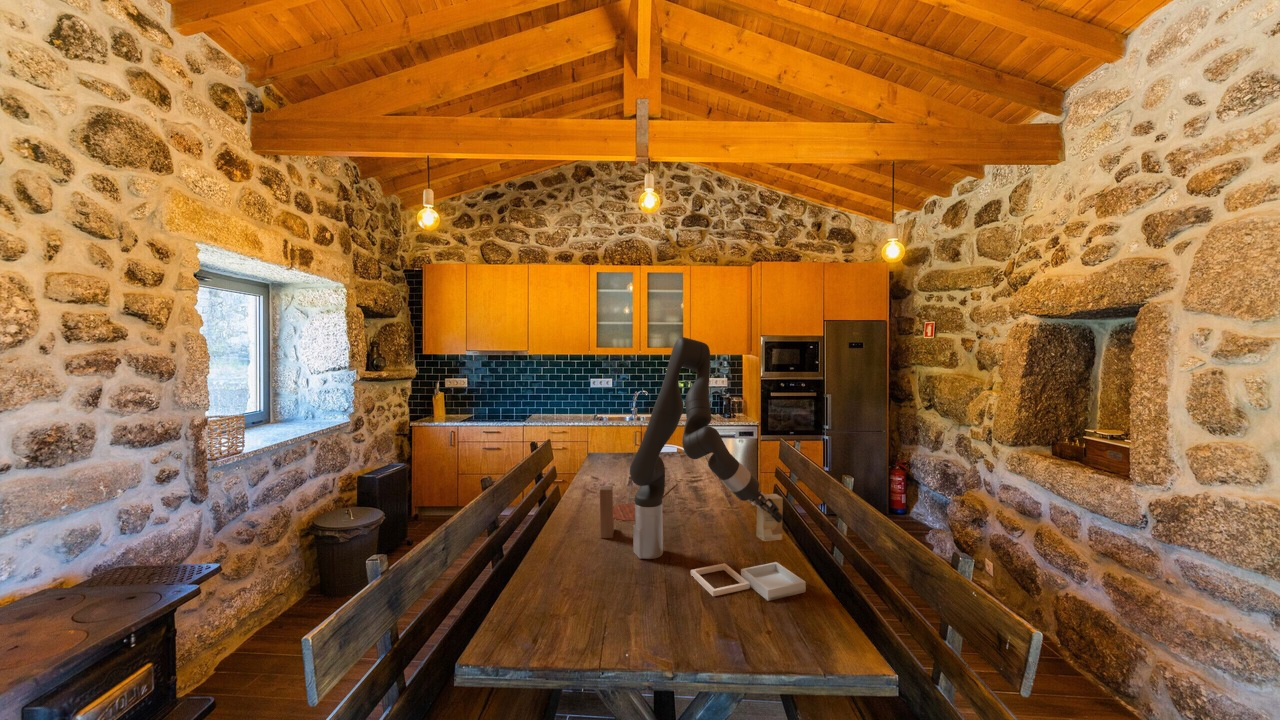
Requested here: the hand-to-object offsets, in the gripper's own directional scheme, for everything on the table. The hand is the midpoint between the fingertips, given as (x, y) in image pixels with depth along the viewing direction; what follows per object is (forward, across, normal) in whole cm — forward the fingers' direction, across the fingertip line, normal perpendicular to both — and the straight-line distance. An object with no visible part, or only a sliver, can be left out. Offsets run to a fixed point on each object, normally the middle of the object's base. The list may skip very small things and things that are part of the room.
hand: (775, 516), depth 145 cm
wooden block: (-10, +56, +39) cm, 69 cm away
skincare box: (+3, 0, +6) cm, 6 cm away
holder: (+4, +8, +24) cm, 26 cm away
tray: (+14, 0, +15) cm, 20 cm away
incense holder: (+5, +73, +24) cm, 77 cm away
